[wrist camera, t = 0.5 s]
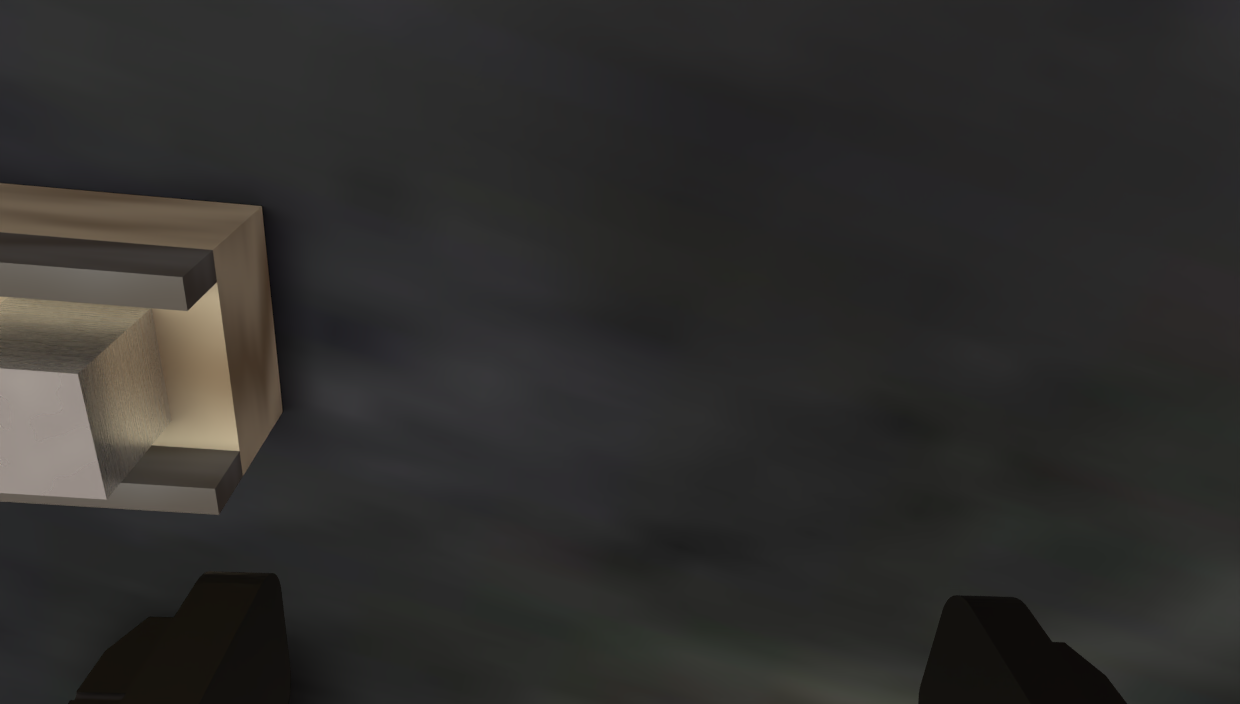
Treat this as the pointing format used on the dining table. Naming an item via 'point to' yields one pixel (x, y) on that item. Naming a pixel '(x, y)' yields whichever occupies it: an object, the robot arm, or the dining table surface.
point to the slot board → (163, 323)
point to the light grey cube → (76, 396)
